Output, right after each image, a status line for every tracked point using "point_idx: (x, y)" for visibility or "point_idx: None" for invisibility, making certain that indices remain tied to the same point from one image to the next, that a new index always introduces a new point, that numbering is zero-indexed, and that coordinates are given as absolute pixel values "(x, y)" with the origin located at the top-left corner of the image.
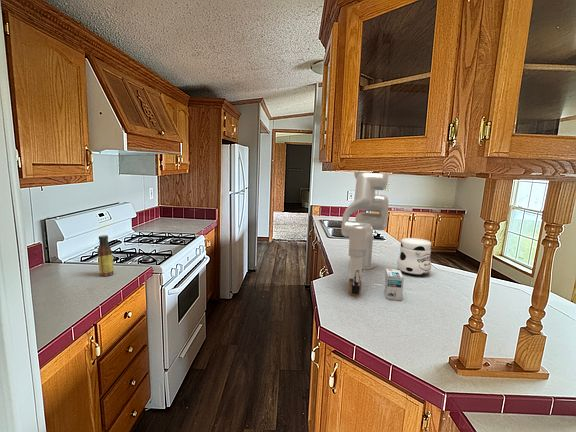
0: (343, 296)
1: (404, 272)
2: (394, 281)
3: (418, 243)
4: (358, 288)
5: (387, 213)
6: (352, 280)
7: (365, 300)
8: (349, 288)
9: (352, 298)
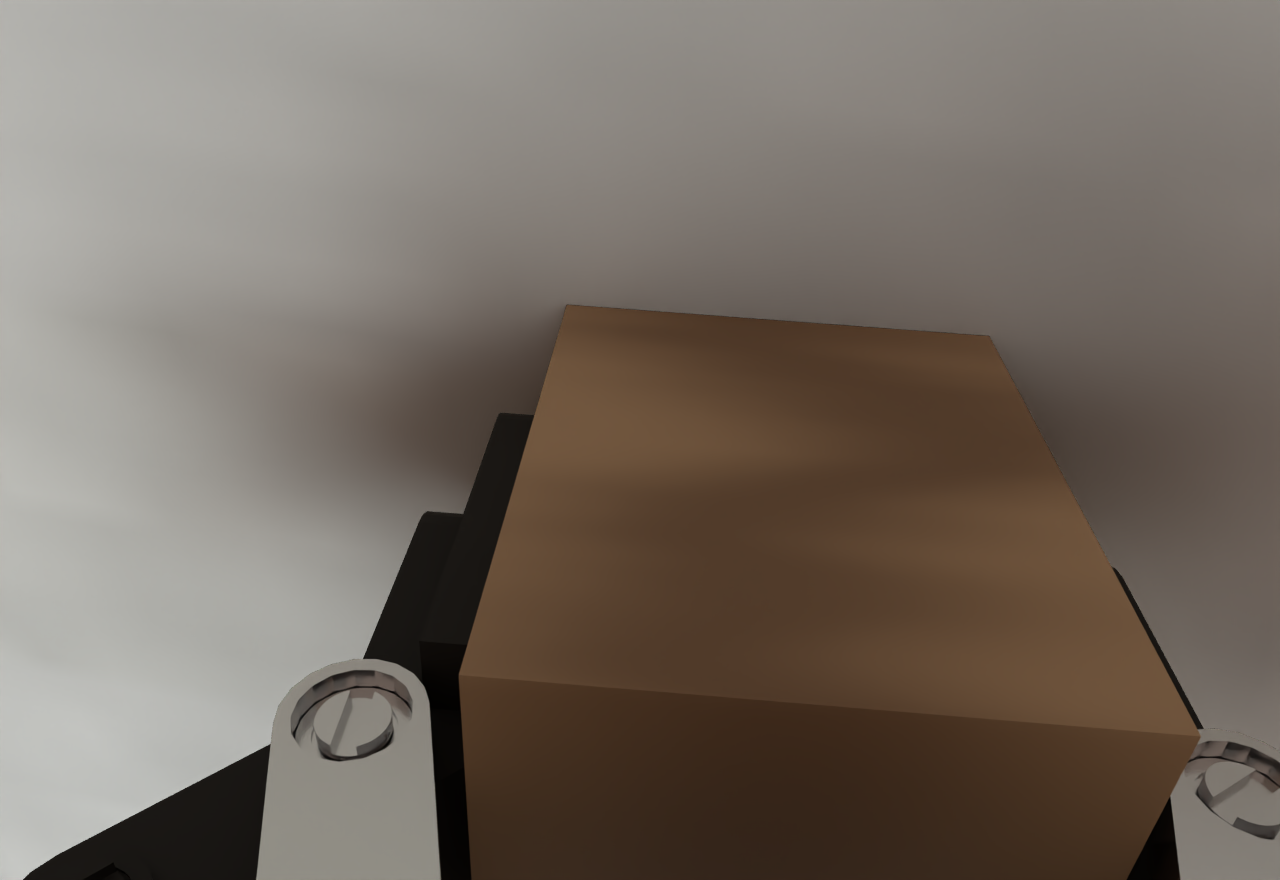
0: (338, 37)
1: None
2: None
3: None
4: None
5: None
6: (760, 813)
7: (220, 654)
8: (682, 417)
9: (245, 348)
